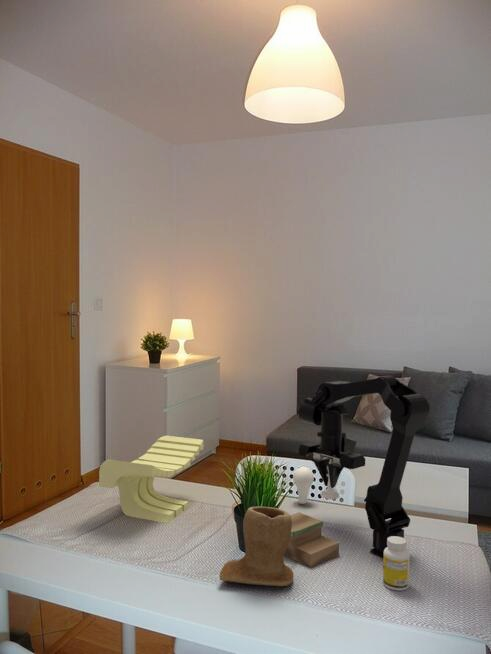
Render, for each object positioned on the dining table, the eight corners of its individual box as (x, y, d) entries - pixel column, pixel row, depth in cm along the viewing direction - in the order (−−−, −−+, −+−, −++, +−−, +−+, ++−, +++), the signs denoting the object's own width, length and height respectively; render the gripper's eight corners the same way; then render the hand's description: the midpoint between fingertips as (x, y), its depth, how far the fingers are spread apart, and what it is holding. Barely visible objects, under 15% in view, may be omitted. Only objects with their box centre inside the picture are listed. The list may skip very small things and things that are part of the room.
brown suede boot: (295, 568, 128) (296, 502, 127) (291, 595, 116) (293, 522, 116) (228, 562, 130) (230, 497, 130) (218, 588, 118) (219, 517, 118)
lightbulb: (312, 508, 166) (313, 470, 165) (291, 506, 167) (292, 469, 167) (314, 501, 172) (314, 465, 171) (293, 499, 173) (294, 463, 172)
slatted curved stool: (156, 490, 179) (157, 434, 178) (202, 497, 173) (203, 439, 172) (98, 524, 151) (99, 458, 150) (151, 534, 145) (152, 465, 144)
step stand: (338, 555, 135) (339, 528, 135) (309, 567, 128) (309, 539, 128) (298, 537, 145) (299, 512, 144) (269, 548, 138) (269, 522, 138)
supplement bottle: (389, 576, 125) (390, 532, 124) (413, 584, 121) (414, 539, 121) (378, 585, 121) (379, 540, 120) (402, 594, 117) (403, 547, 117)
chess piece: (317, 497, 151) (318, 459, 151) (324, 491, 156) (325, 455, 155) (335, 500, 149) (336, 462, 149) (341, 495, 153) (342, 458, 153)
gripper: (378, 430, 150) (377, 489, 151) (324, 419, 164) (322, 473, 165) (352, 436, 143) (350, 498, 143) (297, 424, 157) (296, 480, 157)
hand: (330, 486), depth 152 cm, fingers closed on chess piece
